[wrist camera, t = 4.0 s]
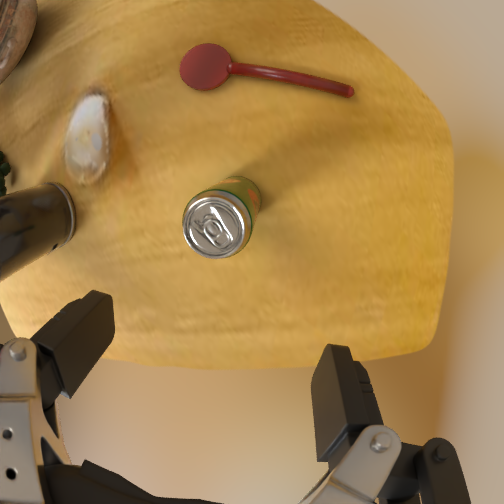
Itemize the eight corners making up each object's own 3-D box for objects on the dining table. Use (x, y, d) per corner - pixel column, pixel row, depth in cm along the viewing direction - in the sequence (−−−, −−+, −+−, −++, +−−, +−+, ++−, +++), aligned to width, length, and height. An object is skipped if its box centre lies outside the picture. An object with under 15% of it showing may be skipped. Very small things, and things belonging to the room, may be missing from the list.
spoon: (177, 88, 26) (172, 86, 25) (187, 44, 24) (183, 40, 23) (347, 118, 26) (351, 116, 25) (356, 72, 24) (359, 68, 23)
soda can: (240, 166, 29) (217, 175, 18) (270, 203, 30) (266, 235, 19) (205, 195, 30) (163, 223, 19) (234, 230, 31) (210, 277, 20)
